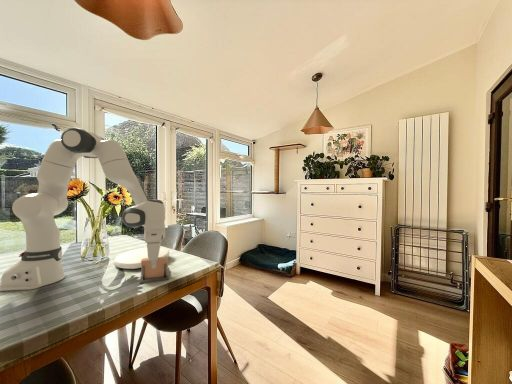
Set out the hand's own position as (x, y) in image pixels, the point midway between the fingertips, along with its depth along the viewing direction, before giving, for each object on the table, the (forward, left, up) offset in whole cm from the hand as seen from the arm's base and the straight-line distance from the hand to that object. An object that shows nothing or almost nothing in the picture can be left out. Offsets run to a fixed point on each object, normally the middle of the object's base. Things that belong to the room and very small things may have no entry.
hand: (154, 264), depth 105 cm
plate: (-8, +27, -7) cm, 29 cm away
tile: (0, 0, -5) cm, 5 cm away
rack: (0, +3, -7) cm, 7 cm away
